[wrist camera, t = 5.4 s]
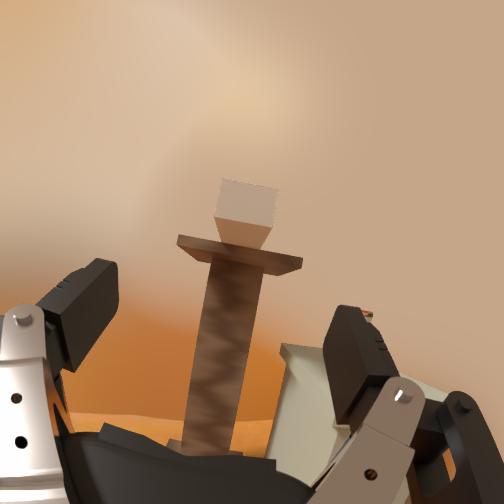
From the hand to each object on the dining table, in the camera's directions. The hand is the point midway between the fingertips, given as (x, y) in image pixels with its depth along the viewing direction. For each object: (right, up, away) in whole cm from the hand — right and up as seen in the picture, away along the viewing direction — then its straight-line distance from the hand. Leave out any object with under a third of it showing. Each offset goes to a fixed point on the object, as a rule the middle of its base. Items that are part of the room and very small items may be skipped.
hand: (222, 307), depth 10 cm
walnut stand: (-6, -30, +21) cm, 37 cm away
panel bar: (0, +2, +22) cm, 22 cm away
